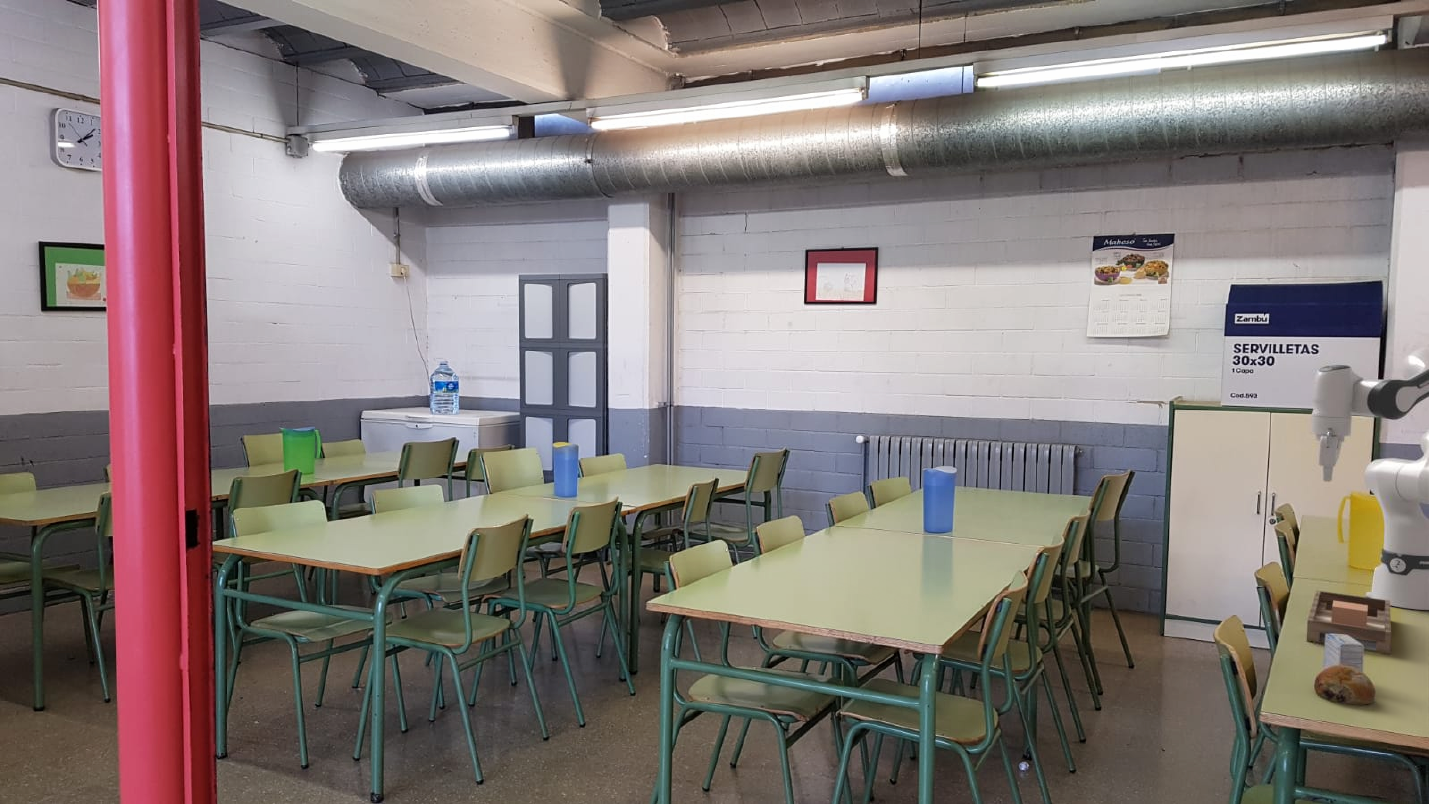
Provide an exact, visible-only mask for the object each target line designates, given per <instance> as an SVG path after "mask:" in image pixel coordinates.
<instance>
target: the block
mask: <svg viewBox="0 0 1429 804" xmlns="http://www.w3.org/2000/svg"><path fill="white" fill-rule="evenodd" d="M1367 611H1368V605H1362V604H1355V603H1348V602H1341V601H1333V605H1332V617H1331V622H1332V623H1339V624H1345V625H1352V626H1358V627H1365V628H1366V626H1367Z"/></svg>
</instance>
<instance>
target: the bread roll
mask: <svg viewBox="0 0 1429 804" xmlns="http://www.w3.org/2000/svg"><path fill="white" fill-rule="evenodd" d="M1313 685H1314V686H1313V689H1314V691H1315V693H1316V694H1317V696H1319V697H1321V698H1324V699H1326V700H1329V701H1332V702H1336V703H1340V704H1345V705H1346V704H1347V705H1356V706H1357V705H1358V706H1363V705H1370V704H1372V703H1373V702H1374V701H1375V698H1376V688H1375V686H1374V684H1373V682H1372V680H1371V679H1370V678H1369V677H1368V676H1367V675H1366V674H1365V673H1364V671H1363V672H1362V671H1360V670H1358V669H1356V668H1354V667H1351V666H1346V665H1336V666H1332V667H1329V668H1327V669H1325V670H1322V671H1321V672H1319V673H1318V674H1317V675H1316V677H1315V681H1314V684H1313Z"/></svg>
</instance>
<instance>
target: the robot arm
mask: <svg viewBox="0 0 1429 804" xmlns="http://www.w3.org/2000/svg"><path fill="white" fill-rule="evenodd" d="M1401 374H1402V375H1403V378H1404V379H1373V378H1364V377H1362V376H1360V375H1358V374H1357V373H1355V372H1354V371H1353V369H1352V367H1351V366H1350V365H1346V364H1344V365H1343V364H1336V365H1335V364H1334V365H1326V366H1322V367H1320V368H1319V369H1318V370H1317V372H1316V374H1315V378H1314V382H1313V387H1312V402H1313V409H1312V413H1311V416H1310V417H1311V418H1310V419H1311V420H1310V434H1312V435H1315V441H1319V448H1318V449H1319V451H1318V466H1320V467H1322V472H1323V475H1322V477H1323V479H1322V480H1323V481H1324V482H1327V483H1329V482H1332V479H1333V472H1334V467H1336V465H1337V463H1338V460H1339V457H1340V454H1341V449H1342V444H1343V443H1344V442H1345V437H1349V436H1351V433H1352V431H1351V430H1352V417H1353V416H1358V417H1359V416H1360V417H1369V418H1380V419H1385V420H1393V421H1396V420H1399V419H1402V418H1404V417H1405V416H1406V415H1407V414H1408V413H1410V412H1411V410H1412V409H1413V408H1414V407H1416V405H1418V404H1419V403H1421V402H1422V401H1424V400H1425V399H1427V398H1429V344H1428V345H1424V346H1422V347H1420V348H1418V349H1415V350H1414V351H1412V352H1410V353H1409V354H1408V355H1406V356H1405V357H1404V358H1403V361H1402V363H1401ZM1419 443H1420V449H1421V452H1422V453H1423V456H1422V457H1420V458H1419V459H1416V460H1412V459H1404V458H1398V457H1397V458H1396V457H1390V458H1389V457H1388V458H1387V457H1386V458H1380V459H1379V458H1378V459H1374V460H1373V461H1371V462H1370V463H1368V464H1367V466H1366V469H1365V471H1364V474H1363V476H1364V477H1363V479H1364V483H1365V485H1366V487H1367V489H1369V490H1370V491H1371V493H1372V494H1373V495H1374V497H1375V499H1376V500H1377V502H1378V504H1379V506H1380V509H1381V512H1382V517H1383V521H1384V522H1383V523H1384V525H1383V526H1384V527H1383V528H1384V531H1383V533H1384V534H1383V537H1384V538H1383V548H1382V549H1381V552H1380V562H1381V563H1380V564H1379V565H1378V566H1376V567H1375V568H1374V573H1373V579H1372V586H1371V591H1366V592H1365V597H1368V598H1375V599H1382V600H1390V607H1391V606H1393V607H1397V608H1402V609H1410V610H1423V611H1425V610H1426V611H1429V518H1428V517H1426V515H1425V514H1424V513H1423V510H1422V507H1421V504H1425V505H1429V429H1427V430H1426V431H1425V432H1424V433H1423V435H1422V436H1421V437H1420V440H1419Z"/></svg>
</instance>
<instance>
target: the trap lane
mask: <svg viewBox="0 0 1429 804" xmlns="http://www.w3.org/2000/svg"><path fill="white" fill-rule="evenodd" d="M1333 601H1341V602H1348V603H1355V604H1362V605H1368V611H1367V626H1366V628H1365V627H1358V626H1352V625H1345V624H1339V623H1332V622H1331V617H1332V605H1333ZM1391 624H1392V621H1391V605H1390V600H1382V599H1375V598H1370V597H1368V596H1358V595H1352V594H1345V593H1337V592H1328V591H1322V590H1315V594H1314V597H1313V601H1312V604H1311V608H1310V610H1309V615H1308V617H1307V624H1306V625H1307V627H1306V640H1307V641H1306V642H1310V641H1313V642H1312V643H1316V642H1318V643H1317V644H1322V643H1324V645H1325V635H1326V634H1344V635H1348V636H1350V637H1352V638H1353V639H1355V640H1356V641H1358V642H1359V643H1361V644H1362V645H1363V646H1364V652H1365V651H1367V652H1372V653H1378V652H1379V654H1384V653H1385V654H1386V655H1390V654H1391V653H1390V652H1391V638H1392V635H1391V634H1392V627H1391V626H1392V625H1391Z"/></svg>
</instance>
